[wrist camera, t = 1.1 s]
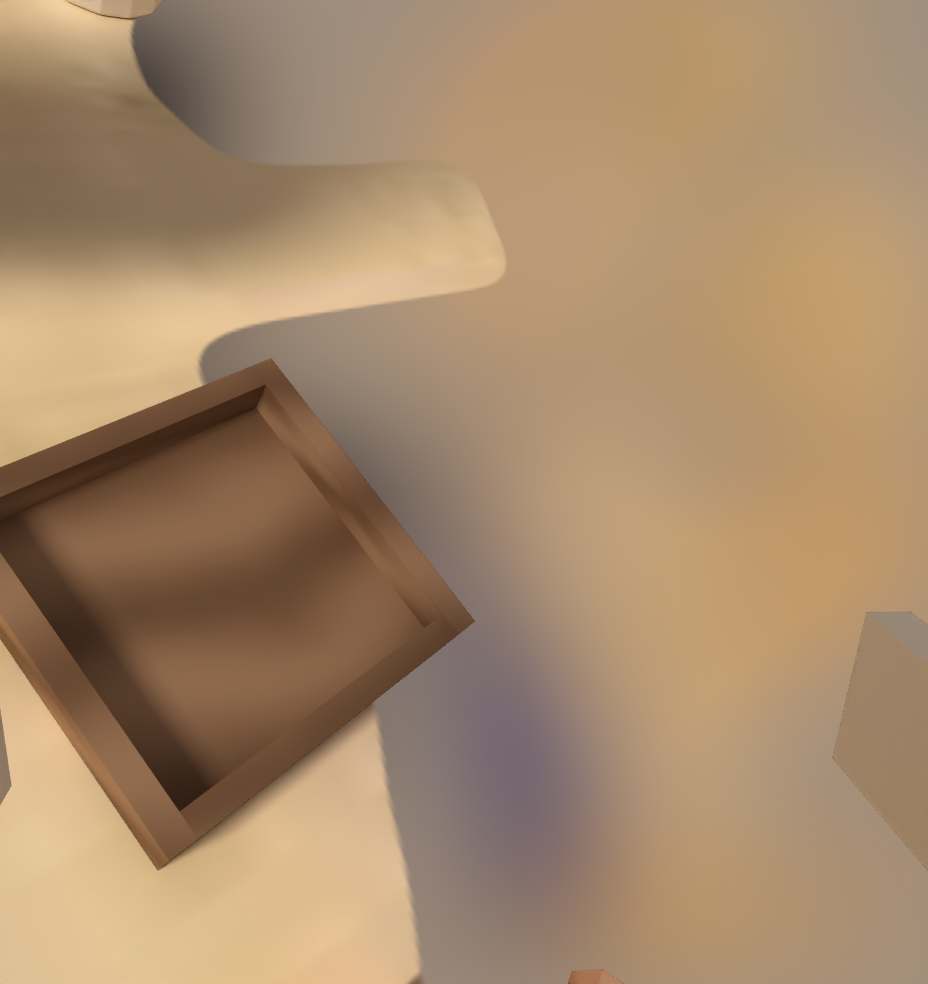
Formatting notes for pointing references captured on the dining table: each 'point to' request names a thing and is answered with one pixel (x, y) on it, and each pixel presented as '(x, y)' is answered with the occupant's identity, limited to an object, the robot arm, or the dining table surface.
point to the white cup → (119, 7)
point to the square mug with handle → (592, 977)
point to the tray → (208, 598)
